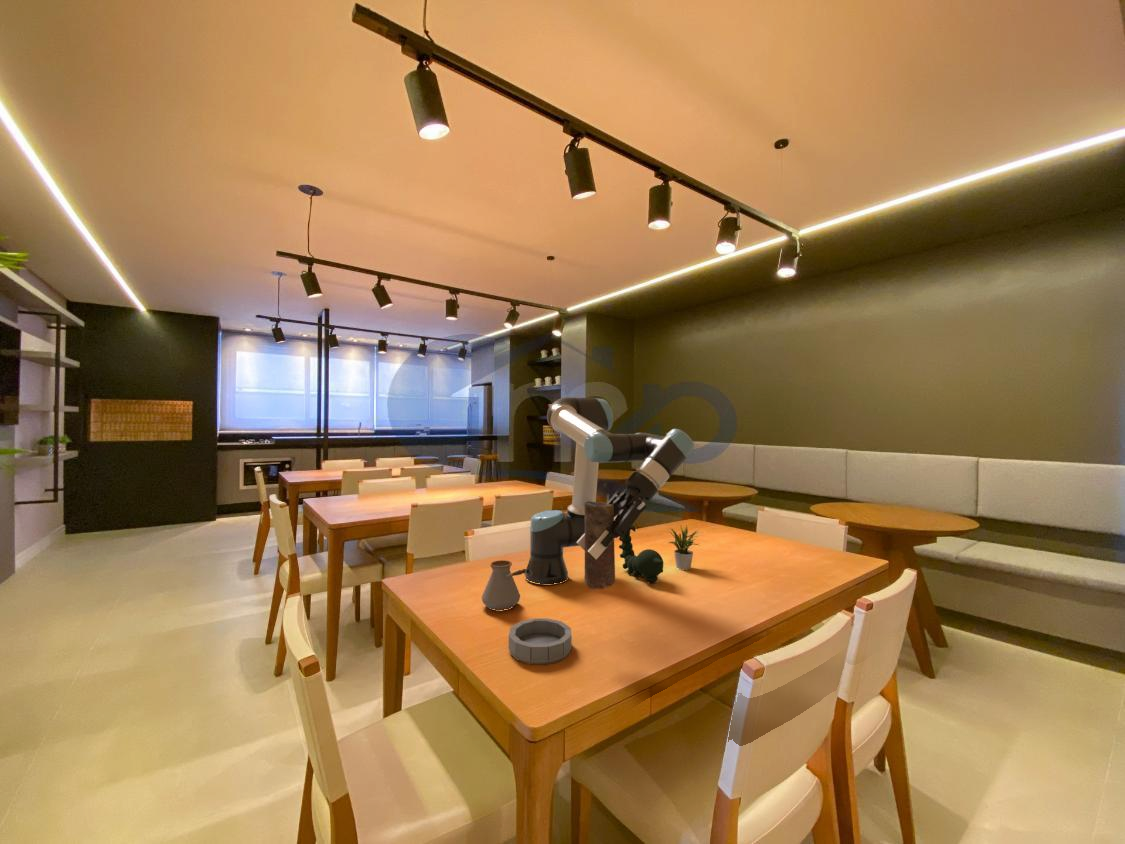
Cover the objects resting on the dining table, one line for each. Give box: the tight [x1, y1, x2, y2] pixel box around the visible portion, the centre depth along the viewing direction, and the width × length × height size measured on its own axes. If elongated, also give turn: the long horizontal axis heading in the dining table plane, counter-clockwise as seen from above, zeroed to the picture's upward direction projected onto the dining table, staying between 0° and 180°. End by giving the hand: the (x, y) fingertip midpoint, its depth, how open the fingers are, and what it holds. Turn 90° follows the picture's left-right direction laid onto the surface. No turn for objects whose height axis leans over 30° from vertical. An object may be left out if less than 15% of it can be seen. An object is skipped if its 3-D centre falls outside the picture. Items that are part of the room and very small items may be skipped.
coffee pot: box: [481, 559, 532, 610], centre depth 130 cm, size 21×12×15 cm, turn 37°
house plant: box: [668, 525, 703, 571], centre depth 170 cm, size 14×14×16 cm
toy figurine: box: [618, 523, 664, 584], centre depth 160 cm, size 9×19×25 cm
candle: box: [584, 501, 616, 590], centre depth 108 cm, size 8×7×20 cm
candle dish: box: [508, 617, 573, 665], centre depth 108 cm, size 15×15×4 cm
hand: (586, 550), depth 107 cm, fingers closed on candle, 7 cm apart
